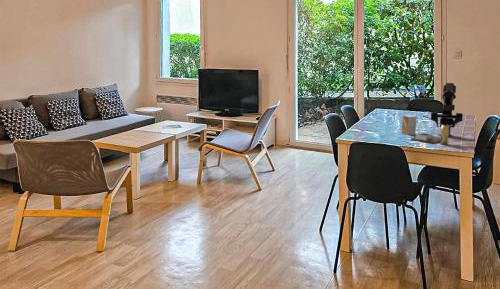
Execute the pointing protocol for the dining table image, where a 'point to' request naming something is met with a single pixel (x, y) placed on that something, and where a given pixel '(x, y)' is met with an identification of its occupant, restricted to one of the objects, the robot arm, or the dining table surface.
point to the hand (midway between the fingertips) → (445, 127)
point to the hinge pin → (444, 135)
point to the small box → (409, 124)
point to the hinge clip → (424, 136)
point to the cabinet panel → (432, 141)
